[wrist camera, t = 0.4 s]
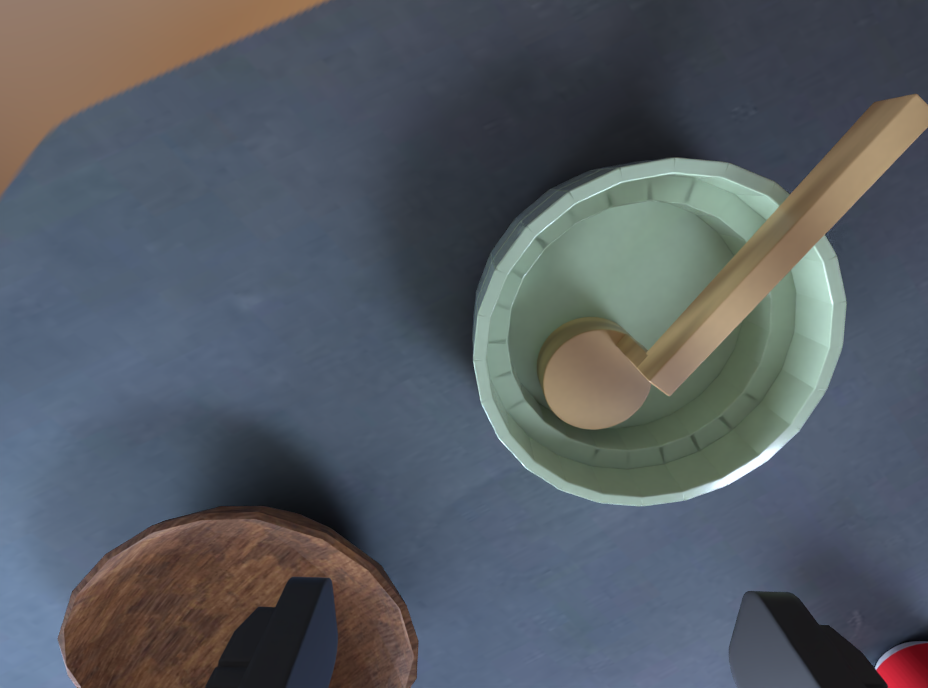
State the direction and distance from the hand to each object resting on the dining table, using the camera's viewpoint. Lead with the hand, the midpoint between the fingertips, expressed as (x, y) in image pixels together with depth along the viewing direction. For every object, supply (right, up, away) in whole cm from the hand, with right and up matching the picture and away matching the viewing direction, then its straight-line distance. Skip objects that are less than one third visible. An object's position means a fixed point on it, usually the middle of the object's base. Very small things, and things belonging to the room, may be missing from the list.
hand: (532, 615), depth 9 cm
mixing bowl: (+7, +7, +17) cm, 20 cm away
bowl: (-15, -12, +24) cm, 30 cm away
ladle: (+9, +9, +16) cm, 20 cm away
